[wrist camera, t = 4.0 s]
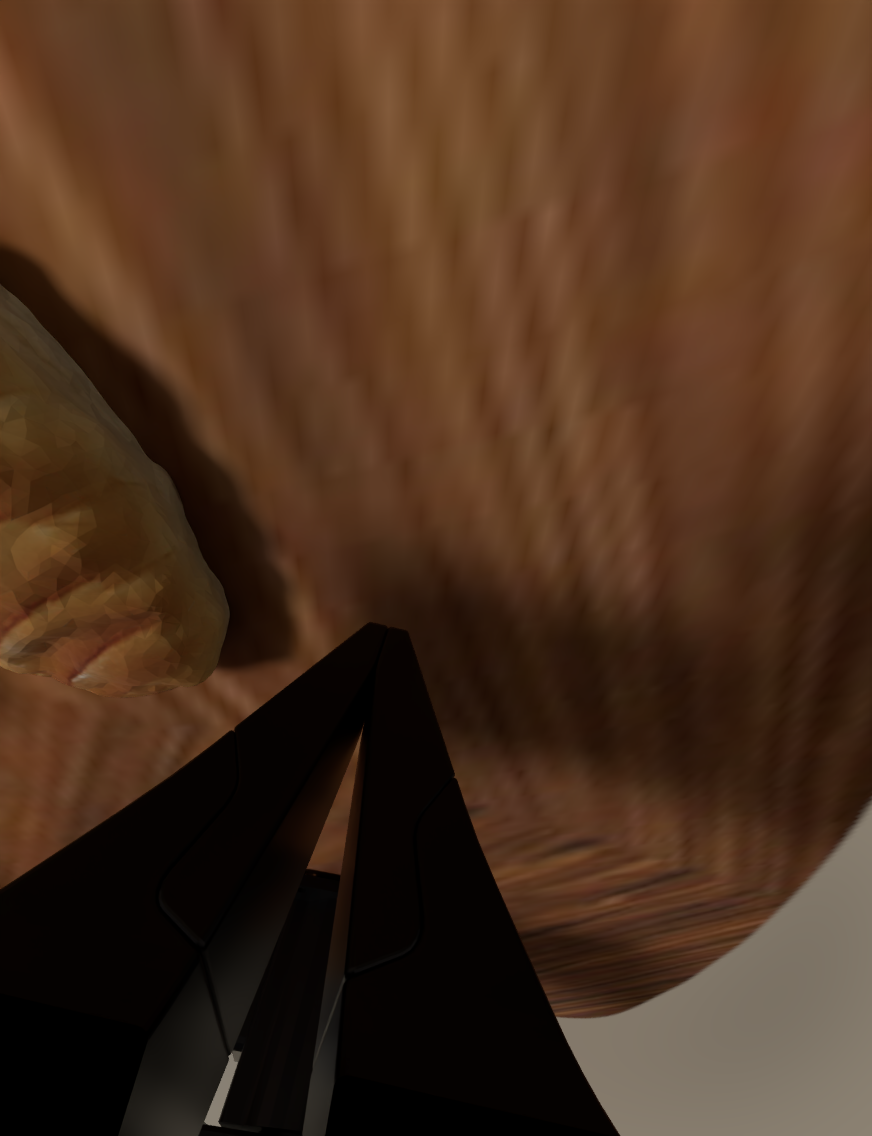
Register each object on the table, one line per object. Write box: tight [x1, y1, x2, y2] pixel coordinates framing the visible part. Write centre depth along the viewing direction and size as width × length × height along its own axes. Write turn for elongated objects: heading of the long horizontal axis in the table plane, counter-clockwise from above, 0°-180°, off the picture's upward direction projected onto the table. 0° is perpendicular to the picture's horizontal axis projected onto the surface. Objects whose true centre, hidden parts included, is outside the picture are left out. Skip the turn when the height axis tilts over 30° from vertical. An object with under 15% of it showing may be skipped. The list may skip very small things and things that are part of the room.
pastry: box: [0, 284, 230, 698], centre depth 7 cm, size 9×7×4 cm
